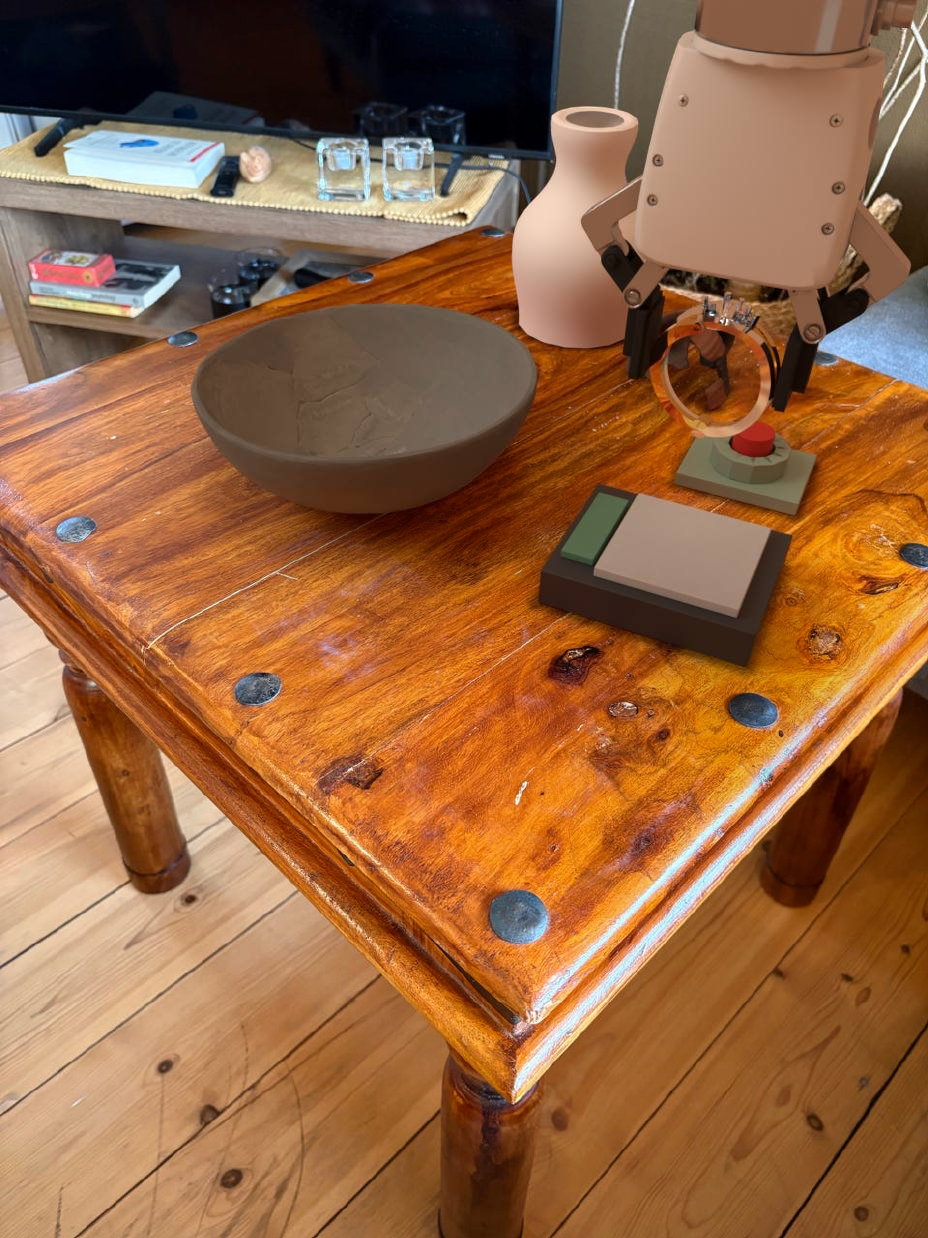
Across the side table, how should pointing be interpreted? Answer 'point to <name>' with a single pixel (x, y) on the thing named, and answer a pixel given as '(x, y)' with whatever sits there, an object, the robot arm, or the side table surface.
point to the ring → (732, 321)
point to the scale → (667, 572)
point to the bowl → (366, 403)
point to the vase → (574, 234)
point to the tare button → (754, 440)
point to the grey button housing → (747, 473)
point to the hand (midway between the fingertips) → (710, 382)
